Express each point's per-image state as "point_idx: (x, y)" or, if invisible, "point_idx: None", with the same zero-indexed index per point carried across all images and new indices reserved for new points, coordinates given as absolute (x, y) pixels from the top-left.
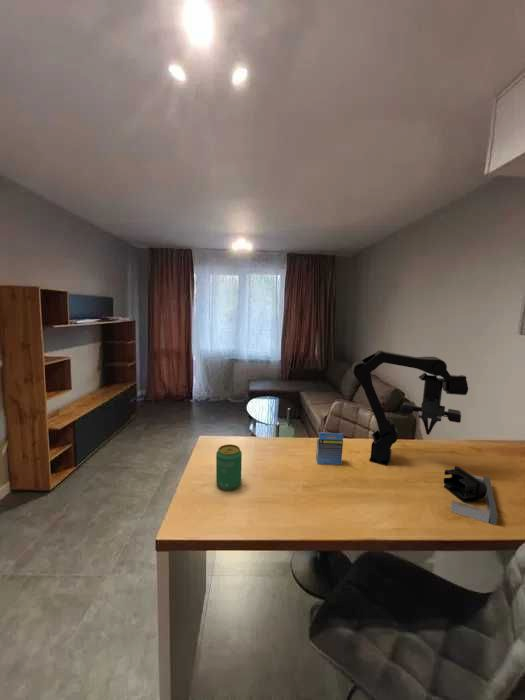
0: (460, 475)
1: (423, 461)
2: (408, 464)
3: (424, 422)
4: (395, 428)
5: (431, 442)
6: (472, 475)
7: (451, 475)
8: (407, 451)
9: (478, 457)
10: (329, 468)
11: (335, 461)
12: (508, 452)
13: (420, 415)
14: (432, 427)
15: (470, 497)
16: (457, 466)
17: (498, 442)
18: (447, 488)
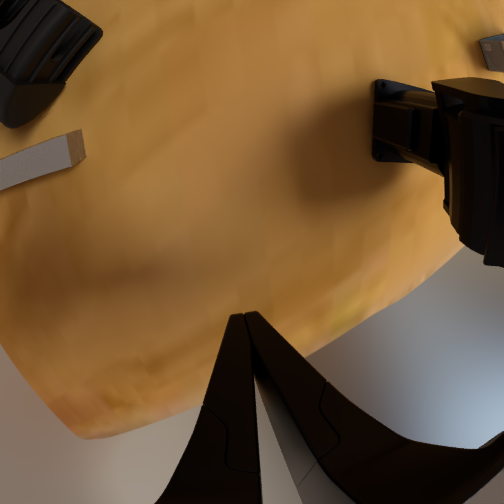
0: (3, 29)
1: (226, 228)
2: (289, 147)
3: (360, 426)
4: (499, 225)
5: None
6: (3, 182)
7: (73, 132)
8: (303, 278)
9: (85, 369)
10: (486, 14)
11: (495, 37)
12: (65, 410)
13: (490, 481)
14: (207, 403)
15: (10, 2)
16: (4, 91)
17: (102, 434)
18: (86, 18)
